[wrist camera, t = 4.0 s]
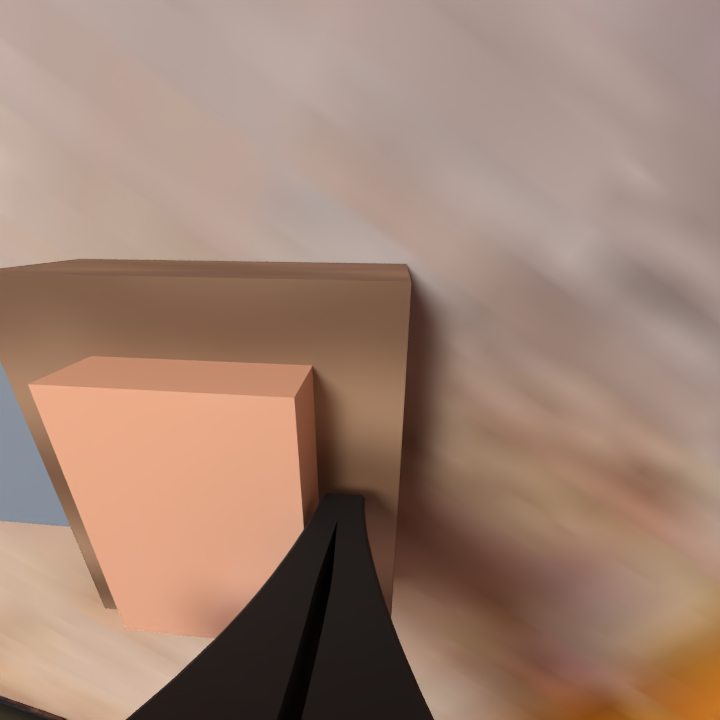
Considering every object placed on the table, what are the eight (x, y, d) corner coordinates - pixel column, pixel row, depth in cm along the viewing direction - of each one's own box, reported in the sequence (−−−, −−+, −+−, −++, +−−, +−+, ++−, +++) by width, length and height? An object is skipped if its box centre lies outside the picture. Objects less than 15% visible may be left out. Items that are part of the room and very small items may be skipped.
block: (323, 592, 14) (312, 649, 12) (159, 576, 14) (125, 628, 13) (312, 365, 10) (294, 398, 8) (91, 356, 11) (27, 384, 9)
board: (390, 553, 18) (389, 637, 15) (160, 534, 19) (105, 607, 16) (406, 264, 13) (411, 281, 9) (79, 259, 14) (-37, 272, 10)
